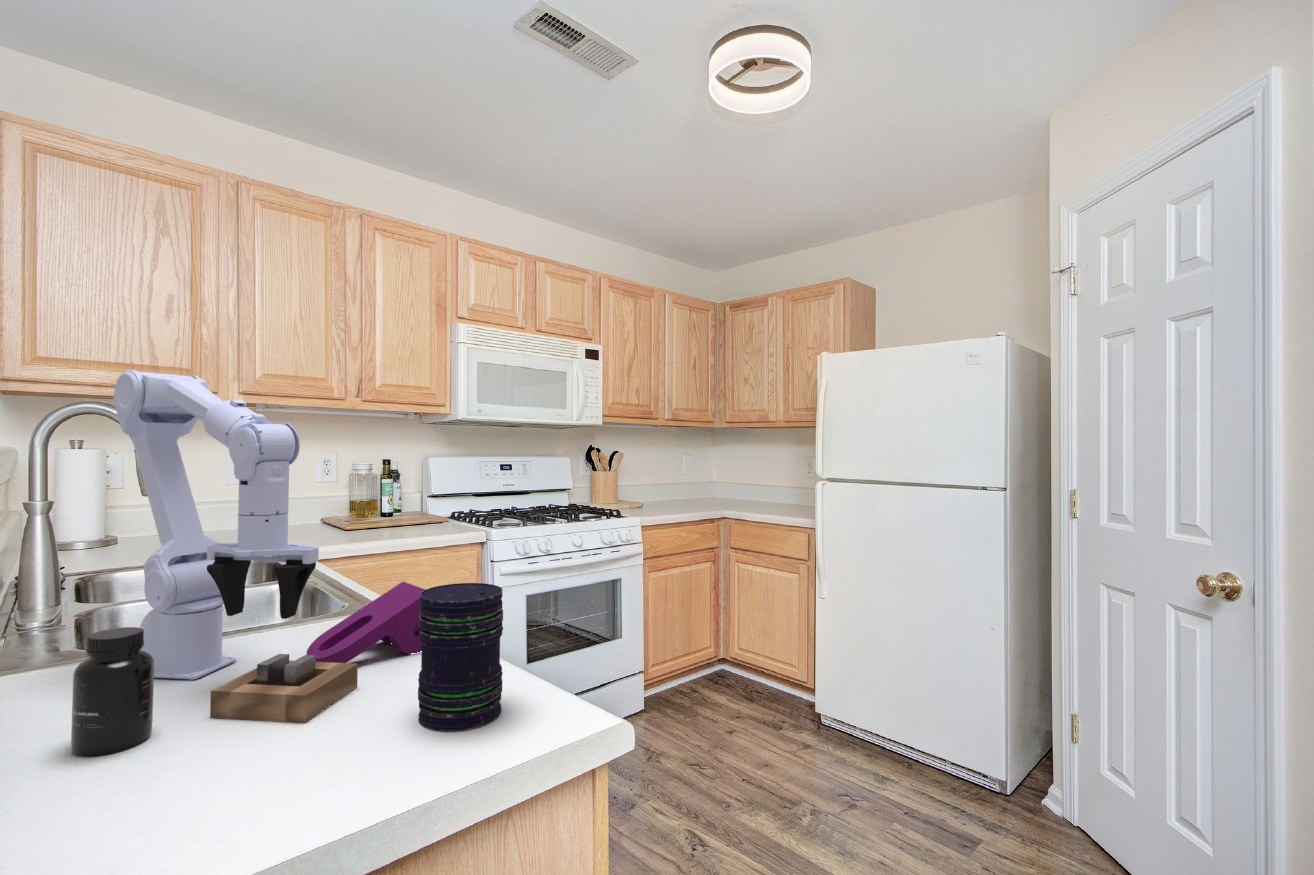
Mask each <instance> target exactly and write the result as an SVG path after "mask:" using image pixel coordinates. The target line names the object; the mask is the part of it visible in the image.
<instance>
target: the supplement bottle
mask: <svg viewBox="0 0 1314 875" xmlns="http://www.w3.org/2000/svg"><path fill="white" fill-rule="evenodd" d="M142 647H144V630H143V629H141V628H140V627H135V626H133V627H131V626H125V627H116V628H109V629H104V630H100V631H96V632H92V633H91V634H89V635H88V636H87V638H86V649H85V655H86V656H88V658H86V659H84V660H83V661H82V662H80V663H79V664H78V665H77V666H76V667H75V669H74V671H73V676H72V699H71V700H72V701H71V703H72V705H71V732H70V733H71V734H70V735H71V736H70V738H71V739H70V741H71V744H70V745H71V750H72V751H73V752H74V753H75V754H78V755H79V756H89V757H90V756H91V757H93V756H104V755H110V754H113V753H119V752H122V751H125V750H128V749H131V748H133V747H136V746H137V745H140V744H141V743H143V742H145V740H147V739H148V738H149V736H150V735H151V733H152V732H153V718H154V717H153V716H154V714H153V713H154V712H153V711H154V686H155V685H154V684H155V682H154V680H155V677H154V659H153V657H152V656H151V655H150V654H149V653H147V652H145V651H142V650H141V648H142Z"/></svg>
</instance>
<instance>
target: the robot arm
mask: <svg viewBox="0 0 1314 875" xmlns="http://www.w3.org/2000/svg"><path fill="white" fill-rule="evenodd" d="M112 397H113V404H114V407H115V411H116V415H117V419H118V422H119V424H120V428H121V432H122V433H124V434H125V435H127V436H129V437H131V439H132V443H133V447H134V452H135V454H136V457H137V462H138V465H139V469H140V472H141V473H140V474H141V476H142V479H143V484H144V487H145V491H146V495H147V498H148V502H149V505H150V510H151V511H152V512H151V513H152V516H153V520H154V523H155V527H156V528H155V529H156V530H157V534H158V539H159V540H160V545H161V546H159V548H158V549H157V550H155V551H154V553H152V554H151V555H150V556H149V557H148V558H147V559H146V561H145V563H144V564H143V566H142V567H143V573H144V584H143V585H144V586H143V587H144V589H143V590H144V596H145V599H146V601H147V603H148V605H149V606H150V607H151V608H152V609H151V610H150V611H148V612H147V614H145V615H144V617H143V619H142V622H141V623H140V626H139V628H141V629H143V630H144V647H142V648H141V650H142V651H145V652H147V653H149V654H150V655H151V656H152V657H153V659H154V679H155V678H160V679H175V680H177V679H178V680H196V679H199V678H201V677H204V676H205V675H209V674H210V673H212V672H215V671H216V670H219V669H221V668H223V667H226V666H227V665H230V664H232V663H235V662H236V661H237V659H238V658H237V657H235V656H223V605H224V610H225V612H226V616H227V617H233V616H235V615H238V614H242V613H243V612H244V607H245V606H244V605H245V594H246V583H247V577H248V572H249V569H250V566H251V564H252V562H253V561H255V562H256V561H258V562H276V563H279V562H281V563H285V564H281V565H276V566H274V569H273V570H274V573H275V576H276V580H277V584H278V591H279V613H280V619H283V620H285V619H286V620H287V619H289V618H291V617H293V616H296V614H297V611H298V608H299V607H298V606H299V602H300V600H301V598H302V594H303V591H304V589H305V587H306V584H307V582H308V580H309V578H310V577H311V575H312V573H313V572H314V570H315V568H316V566H317V562H319V551H320V550H319V546H307V545H300V544H293V543H288V542H289V541H288V540H289V537H288V535H289V497H290V496H289V489H290V488H289V487H290V465H292V464H293V463H295V462H296V460H297V459H298V456H299V454H300V448H301V444H300V443H301V442H300V436H299V434H298V432H297V430H296V428H294V427H293V426H292V425H291V423H289V422H280V423H272V422H271V421H269V420H267V417H266V415H263V414H262V413H256V412H255V411H253V410H251V409H250V408H248V407H247V402H246V401H244V400H243V399H233V398H232V399H229V400H222V399H221V398H220V397H218V396H217V395H216V394H214V393H213V392H212V391H211V390H210V389H209V388H208V384H207V381H206V380H204V379H202V378H200V377H199V376H197V375H193V374H192V375H181V374H180V375H179V374H168V373H158V372H157V373H156V372H147V371H146V372H145V371H137V370H134V369H126V370H125V371H124V372H123V373H122V374H121V375H119V376H118V378H117V380H116V382H115V387H114V391H113V396H112ZM198 419H199V420H201V421H202V422H203V428H204V430H205V432H206V433H207V434H208V435H209V436H210V437H212V438H213V439H215V440H216V441H218V442H220V443H221V444H222V445H224V447H226V448H228V452H229V456H230V459H231V461H232V463H233V476H234V477H235V479H236V480H238V506H237V507H238V508H237V510H238V511H237V512H238V513H237V542H236V543H223V542H222V543H221V542H220V541H219V542H218V541H217V540H215V539H212V538H210V537H208V536H206V535H205V533H204V531H203V527H202V524H201V520H200V517H199V513H198V509H197V507H196V502H195V499H194V496H193V492H192V489H191V486H190V482H189V479H188V475H187V472H186V468H185V466H184V461H183V458H182V454H181V451H180V448H179V444H178V440H179V439H180V438H182V437H184V436H186V435H188V434H190V433H191V432H192V430H193V429H194V426H195V425H196V423H197V420H198Z"/></svg>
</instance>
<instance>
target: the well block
mask: <svg viewBox="0 0 1314 875" xmlns="http://www.w3.org/2000/svg"><path fill="white" fill-rule="evenodd" d="M293 661H294V660H289V663H291V662H293ZM358 666H359V664H358V663H354V662H353V663H352V662H346V663H333V662H315V678H313V679H311V680H310V681H308V682H306V683H305V684H303V685H301V686H300V687H297V686H277V685H257V667H256V668H254V669H252V670H250V671H248V672H245V673H244V674H241V675H240V676H238V677H236V678H234V679H231V680H230V681H228V682H226V683H224V684H222V685H220V686H217V687H215V688H214V689H211V690H210V704H209V706H210V707H209V708H210V710H209V711H210V716H209V718H211V719H228V720H229V719H231V720H247V721H264V722H268V721H269V722H283V723H297V724H298V723H299V724H300V723H302V724H306V723H307V722H309V721H311V720H312V719H313V718H315V717H316V716H318V715H319V714H321V713H322V712H323V711H322V710H324V709H325V708H326V707H328V706H329V705H331V704H332V703H334V702H335V703H337V702H338V701H339V699H340V700H341V699H342V697H343V698H344V697H345V696H347V695H348V694H349V692H350V693H352V692H353V691H354V690H356V689H357V688H358ZM355 688H356V689H355ZM352 690H353V691H352ZM346 694H347V695H346ZM337 700H338V701H337ZM336 701H337V702H336ZM335 703H334V704H335ZM332 705H333V704H332ZM332 705H331V706H332ZM329 707H330V706H329ZM329 707H328V708H329ZM326 709H327V708H326ZM326 709H325V710H326ZM325 710H324V711H325ZM320 712H321V713H320ZM318 713H319V714H318ZM317 714H318V715H317ZM314 716H315V717H314ZM311 718H312V719H311ZM308 720H309V721H308Z"/></svg>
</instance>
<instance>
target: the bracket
mask: <svg viewBox="0 0 1314 875" xmlns="http://www.w3.org/2000/svg"><path fill="white" fill-rule="evenodd" d="M289 661H290V654H287V653H278V654H276V655H274V656H272V657H269V658H267V659H266V660H264V661H262V662H259V663H258V664H256V668H257V685H277V686H297V687H300V686H301V685H303V684H305V683H306V682H308V681H310V680H311V679H313V678H315V655H306V654H305V655H303V656H301V657H298V658H297V659H295V660H292V661H293V662H291V663H289Z"/></svg>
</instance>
